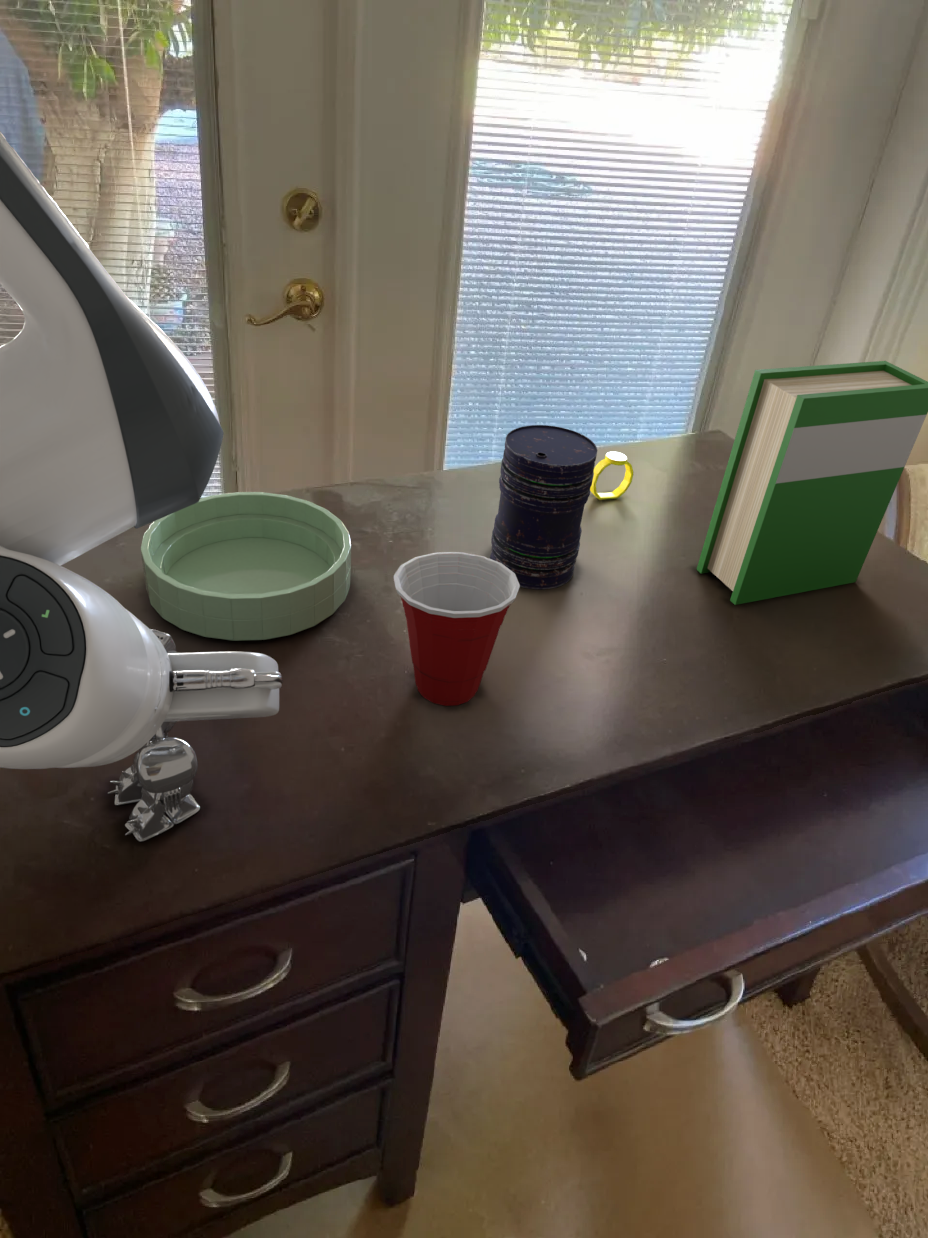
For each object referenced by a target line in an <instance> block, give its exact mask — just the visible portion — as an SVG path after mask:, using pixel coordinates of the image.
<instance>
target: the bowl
mask: <svg viewBox="0 0 928 1238" xmlns="http://www.w3.org/2000/svg"><path fill="white" fill-rule="evenodd" d="M351 543H352V542H351V535H350V532H349V530H348V529H347V527H346V525H345V524H344V523H343V521H342V520H341V519H340V518H339V517H337V516H336V515H335V514H333V512H330V510H329V509H327V508H325V507H322V506H320V505H318V504H317V503H314V502H312V501H309V500H306V499H303V498H298V497H295V496H291V495H287V494H280V493H274V492H273V493H272V492H266V491H265V492H263V491H237V492H227V493H221V494H220V493H219V494H212V495H209V496H204V497H201V498H200V500H199V502H198V503H195V504H193V505H191V506H188V507H186V508H184V509H181V510H179V511H177V512H174V513H172V514H170V515H167V516H165V517H163V518H161V519H158V520H156V521H154V522H151V523H150V525H149V527H148V528H147V529H146V531H145V532H144V533H143V536H142V540H141V545H140V555H141V562H142V569H143V577H144V584H145V589H146V593H147V597H148V601H149V604H150V606H152V608H153V609H154V610H155V611H156V612H157V613H158V615H159V616H160V617H161V618H162V619H163V620H165V621H167V622H168V623H170V624H172V625H173V626H175V627H177V628H179V629H180V630H181V631H186V632H187V633H188V632H189V633H192V634H195V635H198V636H201V637H205V638H209V639H210V638H212V639H217V640H226V641H235V642H236V641H237V642H239V641H262V640H263V641H265V640H271V639H276V638H281V637H286V636H291V635H294V634H296V633H299V632H302V631H304V630H305V631H306V630H307V629H310V628H313V627H315V626H317V625H318V624H320V623H321V622H323V621H325V620H326V619H327V618H329V617H331V616H333V615H334V613H335V612H336V611H337V610H338V609H339V608H340V607H341V605H342V604H343V603H345V601H346V599H347V596H348V594H349V591H350V587H351V573H352V571H351V567H352V566H351V565H352V544H351Z"/></svg>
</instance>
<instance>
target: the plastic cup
mask: <svg viewBox="0 0 928 1238" xmlns="http://www.w3.org/2000/svg"><path fill="white" fill-rule="evenodd" d="M393 581H394V582H393V583H394V588H395V591H396V594H397V595H398V596H399V597H400V600H401V602H402V607H403V610H404V616H405V620H406V621H405V622H406V627H407V635H408V643H409V649H410V651H409V652H410V656H411V663H412V665H413V673H414V681H415V682H414V683H415V686H416V688H417V692H419V694H420V695H421V696H422V698H424V699H425V700H427V701H429V702H430V703H433V704H436V705H440V706H446V707H447V706H459V705H461V704H464V703H465V704H466V703H468V702H469V701H471V700H472V699H473V698H474V697H475V696H476V693H477V692H478V690H479V687H480V686H481V683H482V682H481V681H482V679H483V676H484V673H485V671H486V670H487V666H488V664H489V661H490V658H491V656H492V652H493V650H494V646H495V645H496V640H497V638H498V636H499V632H500V628H501V626H502V625H503V622H504V619H505V617H506V615H507V613H508V610H509V609H510V606H511V605H512V604H513V603H514V602H515V600H516V598H517V595H518V592H519V590H520V588H521V587H520V584H519V582H518V580H517V577H516V575H515V573H513V572H512V571H511V570H510V569H508V568H507V567H506V566H504V565H503V564H502V563H500V562H497V561H494V560H492V559H490V557H486V556H484V555H480V554H474V553H467V552H462V551H441V552H439V551H438V552H437V551H436V552H432V553H428V554H422V555H418V556H415V557H413V558H411V559H409V560H408V561H405V562H403V563H402V564H400V565H399V567H398V568H397V570H396V571H395V573H394V575H393Z"/></svg>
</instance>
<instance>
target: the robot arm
mask: <svg viewBox="0 0 928 1238" xmlns="http://www.w3.org/2000/svg"><path fill="white" fill-rule="evenodd" d="M0 286H1V287H2V288H3V290H4V291H6V293H7V294H8V295H9V296H10V297H11V299H13V301H14V302H15V303H16V304H17V305H18V307H19V308H20V309H21V313H22V314H23V318H24V323H23V326H22V328H21V330H20V332H19V333H18V334H17V335H16V336H15V337H13V338H12V339H11V340H9V341H8V342H6V343H5V344H3V345H1V346H0V768H2V769H8V770H9V769H10V770H43V769H55V768H58V769H72V768H73V769H74V768H75V769H77V768H92V767H101V766H106V765H109V764H113V763H116V762H119V761H121V760H124V759H126V758H128V757H129V756H131V755H133V754H135V752H138V751H139V749H140V748H141V747H143V746H144V745H145V744H146V743H147V742H148V741H149V740H150V739H151V738H152V737H153V736H154V735H155V734H156V732H157V731H158V729H159V728H160V727H161V725H162V723H163V722H171V721H177V722H187V721H189V722H191V721H192V722H193V721H210V720H211V721H212V720H213V721H214V720H231V719H233V720H234V719H252V718H254V719H255V718H267V717H271V716H272V717H273V716H275V715H277V714H278V713H279V711H280V689H281V688H282V687H283V686H282V684H283V683H284V678H283V676H282V674H281V672H279V664H278V662H277V661H276V660H275V659H274V658H272V657H271V656H270V655H267V654H265V653H262V652H261V653H260V652H252V651H237V650H236V651H229V650H227V651H200V652H199V651H197V652H179V653H167V652H166V650H165V648H164V646H163V645H162V643H161V642H160V640H159V639H158V637H157V636H156V635H155V634H154V633H153V632H152V631H151V630H152V629H151V628H149V627H148V626H147V625H146V624H145V623H144V622H143V621H141V620H140V619H139V618H138V617H137V616H135V615H134V614H133V613H132V612H131V611H129V610H128V609H127V608H125V607H124V606H123V605H122V604H121V603H120V602H119V601H118V600H117V598H115V597H113V596H112V595H111V594H110V593H109V592H107V591H106V590H105V589H103V588H102V587H100V586H98V585H97V584H96V583H94V582H92V581H91V580H89V579H87V578H86V577H84V576H82V575H80V574H78V573H77V572H75V571H72V570H71V569H68V568H66V567H65V566H63V565H65V564H67V563H69V562H71V561H73V560H75V559H76V558H78V557H80V556H82V555H84V554H85V553H87V552H89V551H91V550H93V549H95V548H97V547H98V546H100V545H102V544H104V543H106V542H107V541H109V540H112V539H113V538H115V537H117V536H120V535H121V534H123V533H125V532H126V531H129V530H130V529H132V528H134V529H140V528H141V527H144V526H147V525H149V524H152V523H153V522H154V521H156V520H158V519H161V518H163V517H165V516H167V515H170V514H172V513H174V512H177V511H179V510H181V509H184V508H186V507H188V506H191V505H193V504H195V503H198V502H199V500H200V498H202V496H203V494H204V492H205V491H206V488H207V486H208V485H209V482H210V480H211V478H212V475H213V472H214V470H215V467H216V464H217V461H218V458H219V455H220V452H221V447H222V444H223V440H224V439H223V438H224V435H225V434H224V430H223V428H222V426H221V424H220V418H219V414H218V411H217V408H216V405H215V402H214V400H213V398H212V396H211V393H210V391H209V390H208V387H207V385H206V383H205V382H204V380H203V378H202V377H201V375H200V374H199V372H198V371H197V369H196V368H195V367H194V365H193V363H191V361H190V360H189V359H188V357H187V356H186V355H185V354H184V352H183V351H182V350H181V349H180V347H178V345H177V344H176V343H175V342H174V341H173V340H172V339H171V338H170V337H169V336H168V335H167V334H166V333H165V332H164V331H163V330H162V329H161V328H160V327H159V326H158V325H157V324H156V323H155V322H154V321H153V320H152V319H151V318H150V317H148V315H147V314H146V313H144V312H143V310H142V309H140V308H139V307H138V306H137V305H136V304H135V303H134V302H133V301H132V300H131V299H130V298H129V297H128V296H127V295H126V294H125V292H124V291H123V290H122V288H121V287H120V286H119V284H118V282H117V281H116V280H115V279H114V278H113V276H111V274H110V273H109V272H108V271H107V270H106V268H105V266H103V264H102V263H101V261H99V259H98V258H97V256H96V255H95V254H94V252H93V251H92V250H91V249H90V247H89V244H88V243H87V242H86V241H85V240H84V239H83V237H82V236H81V235H80V233H79V232H78V230H77V228H75V227H74V225H73V224H72V222H71V221H70V220H69V219H68V217H67V216H66V214H64V212H63V211H62V210H61V209H60V207H59V206H58V204H57V202H56V201H55V200H54V199H53V198H52V196H51V195H49V193H48V191H47V189H45V187H44V186H43V185H42V184H41V183H40V181H39V179H38V178H37V177H35V175H34V174H33V172H32V170H31V169H30V167H28V165H27V164H26V163H25V161H24V160H23V159H22V158H21V157H20V155H19V154H18V152H17V151H16V149H15V148H14V147H13V146H11V145H10V144H9V141H7V138H6V137H5V136H4V134H3V133H2V131H1V130H0Z"/></svg>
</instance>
